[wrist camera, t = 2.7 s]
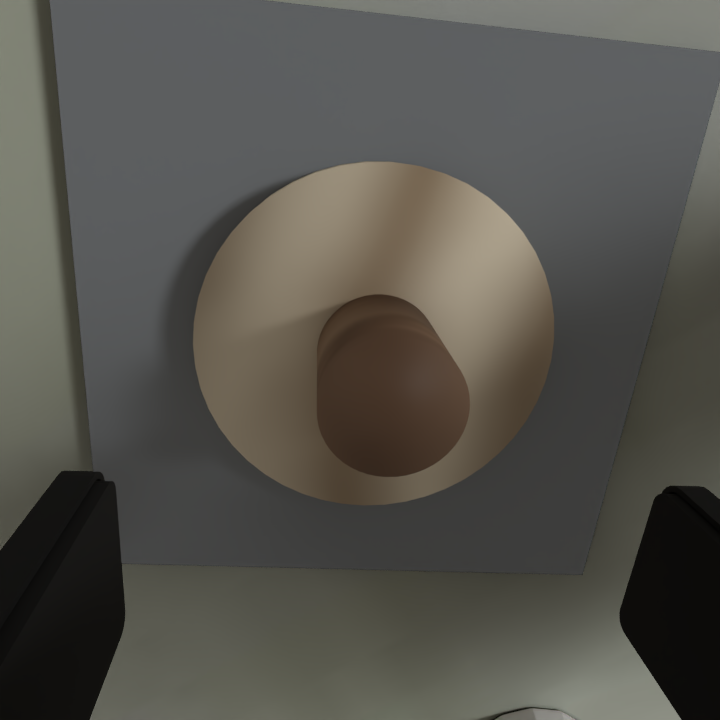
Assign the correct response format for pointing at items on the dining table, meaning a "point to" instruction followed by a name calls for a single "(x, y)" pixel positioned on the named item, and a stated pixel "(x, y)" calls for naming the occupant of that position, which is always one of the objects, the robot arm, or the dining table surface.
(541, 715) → the white cup
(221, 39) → the mat
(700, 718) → the robot arm
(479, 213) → the lid
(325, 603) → the dining table surface
